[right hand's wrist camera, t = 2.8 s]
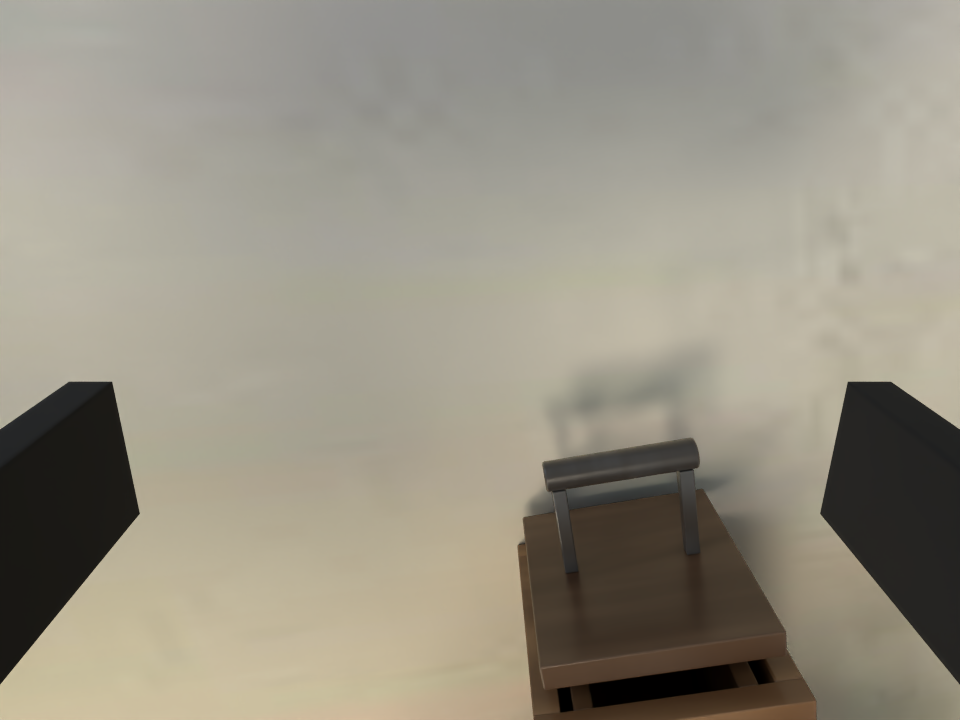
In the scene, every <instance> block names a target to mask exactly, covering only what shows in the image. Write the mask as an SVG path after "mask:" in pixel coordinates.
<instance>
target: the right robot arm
mask: <svg viewBox="0 0 960 720" xmlns="http://www.w3.org/2000/svg"><path fill="white" fill-rule="evenodd" d="M139 514H140V513H139V508H138V503H137V498H136V494H135V489H134V484H133V479H132V475H131V470H130V465H129V460H128V455H127V451H126V446H125V441H124V436H123V432H122V427H121V422H120V417H119V413H118V408H117V403H116V398H115V393H114V389H113V384H112V382H68V383H67V384H65V385H64V386H62V387H61V388H59V389H58V390H57V391H55V392H54V393H52V394H51V395H49V396H48V397H46V398H45V399H44V400H42V401H41V402H39V403H38V404H36V405H35V406H34V407H32V408H31V409H29V410H28V411H26V412H25V413H23V414H22V415H21V416H19V417H18V418H16V419H15V420H13V421H12V422H10V423H9V424H8V425H6V426H5V427H3V428H2V429H0V684H1V683H2V681H3V680H4V679H5V678H6V677H7V675H8V674H9V673H10V672H11V670H12V669H13V668H14V667H15V666H16V664H17V663H18V662H19V661H20V659H21V658H22V657H23V656H24V655H25V653H26V652H27V651H28V650H29V648H30V647H31V646H32V645H33V644H34V642H35V641H36V640H37V639H38V637H39V636H40V635H41V634H42V633H43V631H44V630H45V629H46V628H47V626H48V625H49V624H50V623H51V622H52V620H53V619H54V618H55V617H56V615H57V614H58V613H59V612H60V611H61V609H62V608H63V607H64V606H65V604H66V603H67V602H68V601H69V600H70V598H71V597H72V596H73V595H74V593H75V592H76V591H77V590H78V589H79V587H80V586H81V585H82V584H83V582H84V581H85V580H86V579H87V577H88V576H89V575H90V574H91V573H92V571H93V570H94V569H95V568H96V566H97V565H98V564H99V563H100V562H101V560H102V559H103V558H104V557H105V555H106V554H107V553H108V552H109V551H110V549H111V548H112V547H113V546H114V544H115V543H116V542H117V541H118V540H119V538H120V537H121V536H122V535H123V533H124V532H125V531H126V530H127V529H128V527H129V526H130V525H131V524H132V522H133V521H134V520H135V519H136V518H137V516H138V515H139ZM820 514H821V515H822V516H823V518H824V519H825V520H826V521H827V522H828V524H829V525H830V526H831V527H832V529H833V530H834V531H835V532H836V533H837V535H838V536H839V537H840V538H841V540H842V541H843V542H844V543H845V544H846V546H847V547H848V548H849V549H850V551H851V552H852V553H853V554H854V555H855V557H856V558H857V559H858V560H859V562H860V563H861V564H862V565H863V566H864V568H865V569H866V570H867V571H868V573H869V574H870V575H871V576H872V577H873V579H874V580H875V581H876V582H877V584H878V585H879V586H880V587H881V589H882V590H883V591H884V592H885V593H886V595H887V596H888V597H889V598H890V600H891V601H892V602H893V603H894V604H895V606H896V607H897V608H898V609H899V611H900V612H901V613H902V614H903V615H904V617H905V618H906V619H907V620H908V622H909V623H910V624H911V625H912V626H913V628H914V629H915V630H916V631H917V633H918V634H919V635H920V636H921V637H922V639H923V640H924V641H925V642H926V644H927V645H928V646H929V647H930V648H931V650H932V651H933V652H934V653H935V655H936V656H937V657H938V658H939V659H940V661H941V662H942V663H943V664H944V666H945V667H946V668H947V669H948V670H949V672H950V673H951V674H952V675H953V677H954V678H955V679H956V680H957V681H958V683H959V684H960V429H958V428H957V427H955V426H954V425H952V424H951V423H950V422H948V421H947V420H945V419H944V418H942V417H941V416H939V415H938V414H937V413H935V412H934V411H932V410H931V409H929V408H928V407H926V406H925V405H924V404H922V403H921V402H919V401H918V400H916V399H915V398H914V397H912V396H911V395H909V394H908V393H906V392H905V391H903V390H902V389H901V388H899V387H898V386H896V385H895V384H893V383H892V382H848V384H847V389H846V393H845V398H844V403H843V408H842V413H841V417H840V422H839V427H838V432H837V436H836V441H835V446H834V451H833V455H832V460H831V465H830V470H829V475H828V479H827V484H826V489H825V494H824V498H823V503H822V508H821V513H820Z"/></svg>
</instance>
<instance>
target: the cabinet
mask: <svg viewBox="0 0 960 720" xmlns="http://www.w3.org/2000/svg"><path fill="white" fill-rule="evenodd" d="M518 557H519V568H520V578H521V589H522V600H523V610H524V621H525V632H526V643H527V653H528V664H529V675H530V686H531V696H532V707H533V717H534V720H816V700H815V698H814V696H813V694H812V692H811V691H810V689H809V687H808V685H807V684H806V682H805V680H804V679H803V677H802V675H801V674H800V672H799V670H798V668H797V667H796V665H795V663H794V661H793V660H792V658H791V656H790V654H789V652H788V651H787V655H786V656H781V657H774V658H767V659H760V660H753V661H747V662H748V664H749V666H750V668H751V670H752V672H753V674H754V676H755V678H756V680H757V682H758V684H759V685H753V686H746V687H739V688H732V689H725V690H718V691H710V692H703V693H696V694H689V695H682V696H675V697H668V698H661V699H654V700H647V701H639V702H632V703H625V704H618V705H611V706H604V707H597V708H590V709H583V710H576V711H573V704H572V698H571V692H570V687H564V688H557V689H550V690H544V688H543V683H542V678H541V673H540V668H539V659H538V650H537V641H536V632H535V623H534V615H533V606H532V597H531V588H530V579H529V570H528V561H527V552H526V544H521V545H518Z"/></svg>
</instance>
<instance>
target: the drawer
mask: <svg viewBox="0 0 960 720" xmlns="http://www.w3.org/2000/svg"><path fill="white" fill-rule="evenodd" d="M699 464H700V458H699V452H698V448H697V445H696V443H695V441H694V439H693V438H686V439H680V440H674V441H668V442H661V443H655V444H649V445H643V446H637V447H631V448H625V449H618V450H612V451H606V452H600V453H594V454H588V455H582V456H575V457H569V458H563V459H557V460H551V461H545V462H543V463H542V466H543V472H544V478H545V483H546V489H547V491H548V492H551V491H552V497H553V503H554V509H555V512H553V513H547V514H541V515H535V516H528V517H524V518H523V525H524V534H525V543H526V552H527V561H528V570H529V579H530V588H531V597H532V606H533V615H534V623H535V632H536V641H537V650H538V659H539V668H540V673H541V678H542V683H543V688H544V690H550V689H557V688H564V687H570V692H571V698H572V704H573V711H576V710H583V709H590V708H597V707H604V706H611V705H618V704H625V703H632V702H639V701H647V700H654V699H661V698H668V697H675V696H682V695H689V694H696V693H703V692H710V691H718V690H725V689H732V688H739V687H746V686H753V685H759V684H758V682H757V680H756V678H755V676H754V674H753V672H752V670H751V668H750V666H749V664H748V662H747V661H753V660H760V659H767V658H774V657H781V656H786V655H787V648H786V631H785V629H784V628H783V626H782V624H781V622H780V621H779V619H778V617H777V616H776V614H775V612H774V610H773V609H772V607H771V605H770V603H769V602H768V600H767V598H766V597H765V595H764V593H763V591H762V590H761V588H760V586H759V585H758V583H757V581H756V579H755V578H754V576H753V574H752V573H751V571H750V569H749V567H748V566H747V564H746V562H745V560H744V559H743V557H742V555H741V554H740V552H739V550H738V548H737V547H736V545H735V543H734V542H733V540H732V538H731V536H730V535H729V533H728V531H727V530H726V528H725V526H724V524H723V523H722V521H721V519H720V517H719V516H718V514H717V512H716V511H715V509H714V507H713V505H712V504H711V502H710V500H709V499H708V497H707V495H706V493H705V492H704V490H703V489H699V490H695V479H694V470H693V469H695V468H698V467H699ZM676 471H677V481H678V492H679V493H673V494H667V495H661V496H655V497H648V498H642V499H636V500H629V501H623V502H617V503H610V504H604V505H598V506H591V507H585V508H579V509H572V510H569V506H568V500H567V494H566V489H570V488H576V487H583V486H589V485H595V484H601V483H608V482H614V481H620V480H626V479H633V478H639V477H645V476H651V475H658V474H664V473H670V472H676Z"/></svg>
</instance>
